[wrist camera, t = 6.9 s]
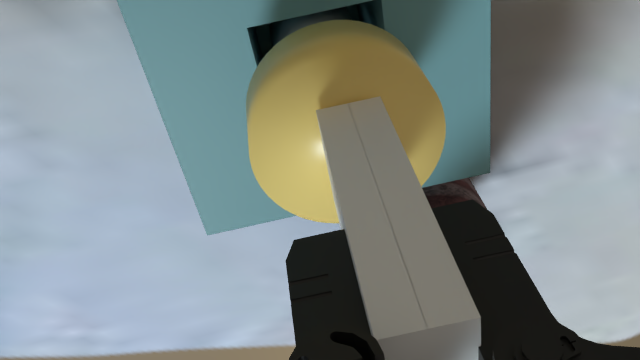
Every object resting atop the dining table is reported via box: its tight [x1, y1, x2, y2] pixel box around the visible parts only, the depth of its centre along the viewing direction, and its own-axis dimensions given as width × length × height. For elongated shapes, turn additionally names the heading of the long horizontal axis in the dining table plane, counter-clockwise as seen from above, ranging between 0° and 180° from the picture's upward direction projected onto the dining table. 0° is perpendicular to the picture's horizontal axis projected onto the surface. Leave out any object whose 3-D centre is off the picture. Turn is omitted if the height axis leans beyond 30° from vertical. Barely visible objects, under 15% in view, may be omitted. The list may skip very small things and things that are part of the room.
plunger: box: [246, 7, 446, 223], centre depth 17 cm, size 5×5×8 cm
